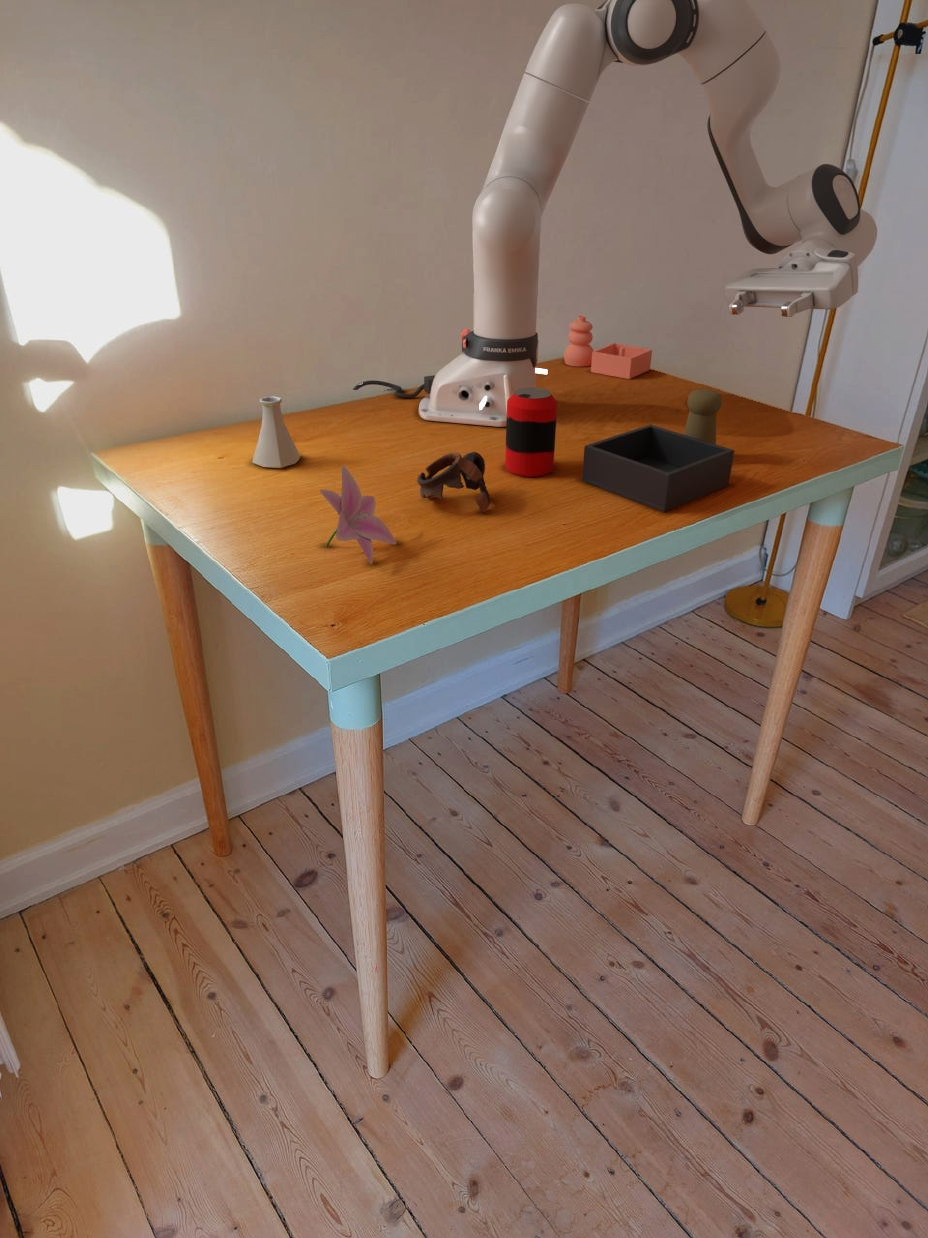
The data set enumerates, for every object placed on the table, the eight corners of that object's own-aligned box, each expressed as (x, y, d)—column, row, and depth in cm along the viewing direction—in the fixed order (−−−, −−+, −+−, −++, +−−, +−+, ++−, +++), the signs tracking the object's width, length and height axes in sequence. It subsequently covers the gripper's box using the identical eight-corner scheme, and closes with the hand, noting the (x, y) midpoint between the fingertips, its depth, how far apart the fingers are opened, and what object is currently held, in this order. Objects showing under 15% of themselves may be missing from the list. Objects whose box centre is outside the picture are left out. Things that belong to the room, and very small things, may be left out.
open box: (664, 512, 127) (669, 475, 124) (581, 481, 137) (584, 445, 134) (728, 485, 136) (734, 449, 133) (646, 457, 146) (650, 424, 143)
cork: (716, 466, 143) (726, 397, 137) (677, 463, 144) (686, 395, 138) (714, 453, 148) (725, 386, 142) (677, 450, 149) (686, 384, 143)
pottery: (650, 369, 192) (655, 322, 187) (629, 379, 186) (634, 330, 181) (576, 356, 202) (580, 310, 197) (554, 364, 195) (557, 318, 190)
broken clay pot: (481, 525, 124) (450, 476, 120) (429, 538, 130) (399, 492, 126) (513, 475, 131) (485, 428, 128) (463, 490, 137) (435, 445, 134)
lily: (324, 586, 109) (360, 525, 105) (274, 523, 114) (306, 462, 109) (392, 580, 119) (427, 524, 114) (343, 522, 123) (375, 466, 119)
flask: (308, 457, 145) (303, 395, 140) (282, 472, 139) (276, 408, 134) (271, 450, 147) (265, 390, 142) (244, 464, 142) (236, 402, 137)
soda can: (495, 470, 140) (497, 394, 134) (522, 456, 146) (525, 382, 140) (536, 481, 137) (539, 403, 130) (562, 467, 142) (567, 391, 136)
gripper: (749, 254, 153) (700, 290, 147) (865, 252, 138) (815, 293, 132) (754, 290, 156) (706, 327, 151) (867, 292, 142) (819, 333, 136)
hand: (758, 311), depth 141 cm, fingers open, 8 cm apart
